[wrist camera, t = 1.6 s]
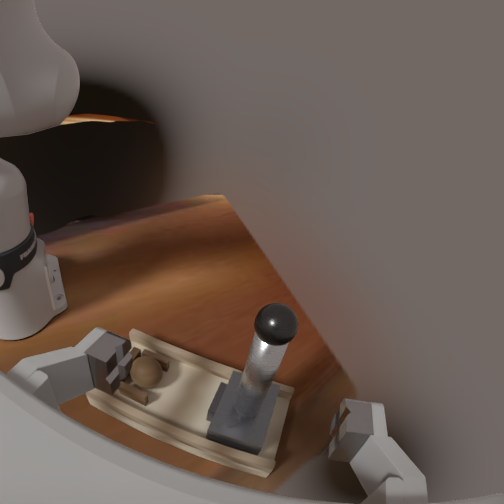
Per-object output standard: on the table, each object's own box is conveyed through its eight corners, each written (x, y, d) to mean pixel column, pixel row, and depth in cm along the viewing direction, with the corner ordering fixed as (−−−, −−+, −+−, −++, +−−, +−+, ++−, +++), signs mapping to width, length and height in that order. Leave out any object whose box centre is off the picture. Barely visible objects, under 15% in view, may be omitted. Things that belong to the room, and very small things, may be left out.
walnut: (128, 371, 36) (126, 351, 34) (158, 367, 38) (158, 347, 36) (134, 396, 33) (131, 378, 31) (166, 391, 35) (166, 373, 33)
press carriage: (274, 397, 37) (322, 288, 28) (256, 456, 30) (310, 360, 21) (224, 380, 38) (251, 266, 29) (198, 436, 31) (216, 329, 22)
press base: (287, 401, 40) (295, 386, 38) (266, 477, 29) (274, 467, 27) (134, 344, 43) (132, 326, 41) (89, 403, 32) (83, 387, 30)
